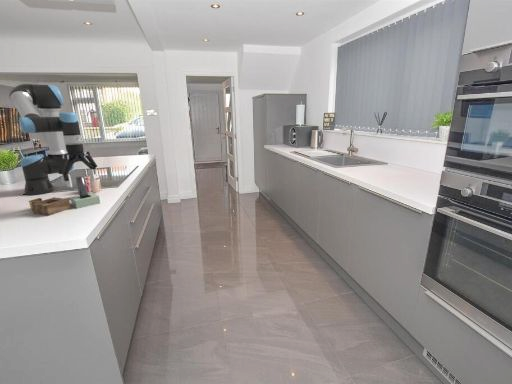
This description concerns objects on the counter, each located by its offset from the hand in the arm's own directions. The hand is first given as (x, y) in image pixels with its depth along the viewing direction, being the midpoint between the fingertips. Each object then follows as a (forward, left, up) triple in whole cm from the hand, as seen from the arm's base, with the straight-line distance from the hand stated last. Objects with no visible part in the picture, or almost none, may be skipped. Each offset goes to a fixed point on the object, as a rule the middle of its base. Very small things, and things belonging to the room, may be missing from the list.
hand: (82, 183), depth 145 cm
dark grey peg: (0, 0, -11) cm, 11 cm away
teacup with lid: (-26, +11, -11) cm, 31 cm away
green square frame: (0, 0, -11) cm, 11 cm away
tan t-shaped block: (-7, -18, -10) cm, 22 cm away
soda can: (-14, +4, -11) cm, 19 cm away
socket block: (0, -15, -11) cm, 19 cm away
